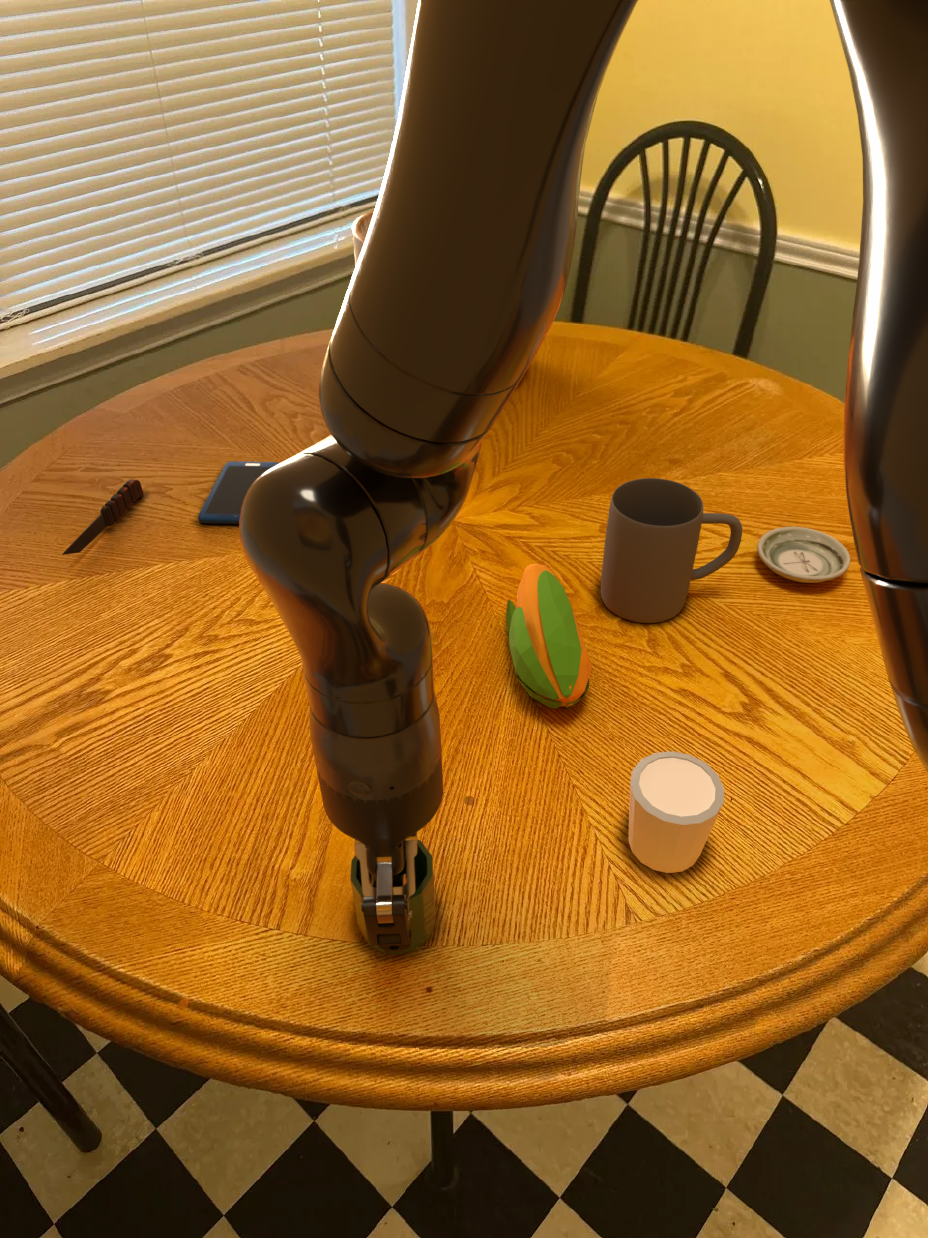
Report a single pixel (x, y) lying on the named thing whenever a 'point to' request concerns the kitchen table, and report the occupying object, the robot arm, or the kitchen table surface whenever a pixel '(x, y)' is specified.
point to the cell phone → (231, 491)
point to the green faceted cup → (419, 901)
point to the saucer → (803, 554)
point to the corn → (547, 640)
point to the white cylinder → (672, 810)
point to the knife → (108, 514)
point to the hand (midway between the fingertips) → (395, 903)
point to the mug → (656, 548)
